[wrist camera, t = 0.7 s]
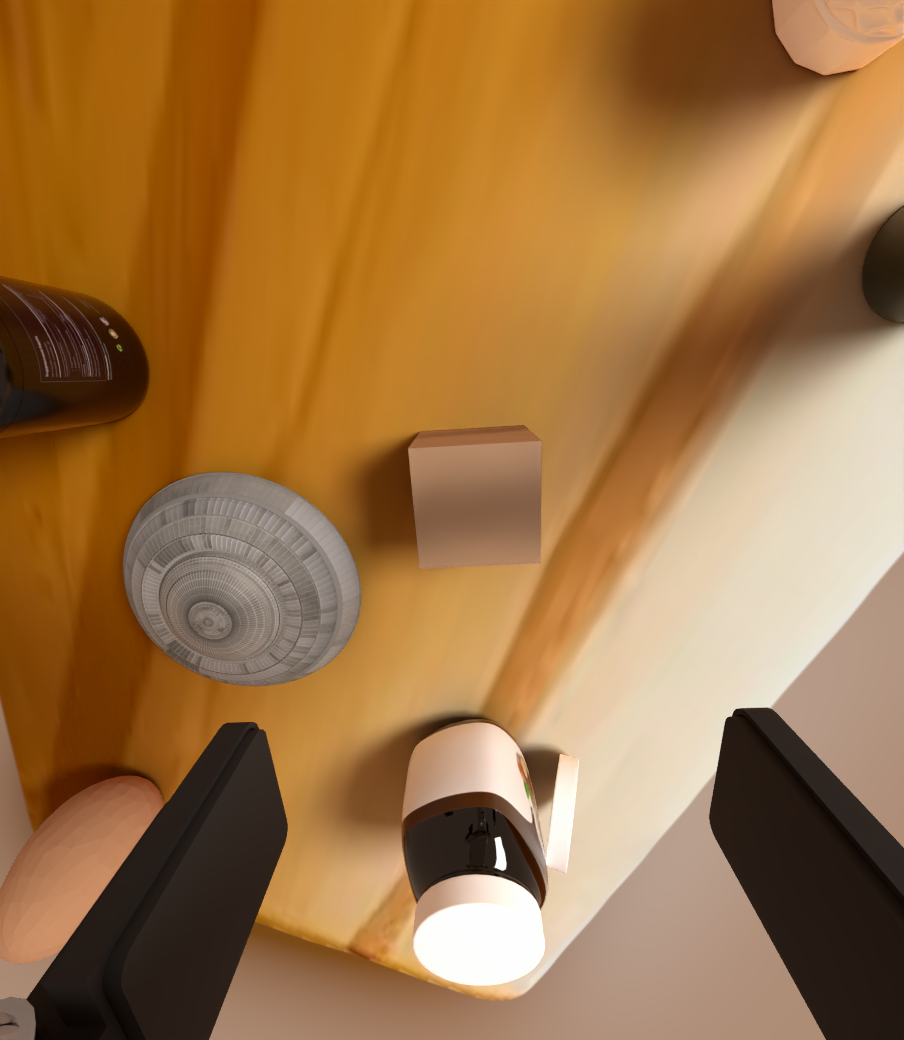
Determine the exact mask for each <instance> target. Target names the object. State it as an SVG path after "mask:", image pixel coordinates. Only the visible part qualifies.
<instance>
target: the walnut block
mask: <svg viewBox="0 0 904 1040" xmlns="http://www.w3.org/2000/svg"><path fill="white" fill-rule="evenodd" d="M541 448H542V441H541V440H540V439H539V438H538V437H537V436H535V435H534V434H533V433H532V432H531V431H530V430H529V429H527V428H526V427H525V426H524V425H519V426H503V427H486V428H469V429H452V430H435V431H420V433H419V434H418V435H417V437H416V438H415V440H414V441H413V442H412V444H411V445H410V446H409V448H408V454H409V464H410V475H411V485H412V496H413V506H414V517H415V527H416V538H417V548H418V559H419V569H426V568H448V567H469V566H491V565H513V564H535V563H541Z"/></svg>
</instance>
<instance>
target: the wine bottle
mask: <svg viewBox="0 0 904 1040" xmlns="http://www.w3.org/2000/svg"><path fill="white" fill-rule="evenodd" d="M863 286H864V292H865V295H866V298H867V300H868V302H869V304H870V306H871V307H872V308H873V309H874V310H875V311H876V312H877V313H878V314H879V315H880V316H882V317H884V318H886V319H888V320H891V321H895V322H903V323H904V207H902V208H901V209H900V210H899V211H897V212H896V213H895V214H894V215H893V216H892V217H891V218H890V219H889V220H888V221H887V222H886V224H885V225H884V226H883V227H882V229H881V230H880V231H879V233H878V234H877V236H876V237H875V239H874V241H873V243H872V245H871V247H870V249H869V252H868V254H867V257H866V261H865V265H864V271H863Z"/></svg>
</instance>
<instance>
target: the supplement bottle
mask: <svg viewBox="0 0 904 1040" xmlns="http://www.w3.org/2000/svg"><path fill="white" fill-rule="evenodd" d="M148 383H149V365H148V360H147V356H146V353H145V350H144V347H143V345H142V343H141V341H140V339H139V337H138V336H137V334H136V332H135V331H134V330H133V328H132V327H131V326H130V324H129V323H128V322H127V321H126V320H125V319H124V318H123V317H122V316H121V315H120V314H119V313H118V312H117V311H115V310H114V309H113V308H111V307H110V306H108V305H107V304H105V303H103V302H102V301H100V300H98V299H96V298H93V297H91V296H88V295H85V294H82V293H78V292H73V291H69V290H64V289H60V288H55V287H50V286H45V285H41V284H36V283H31V282H26V281H22V280H17V279H12V278H7V277H3V276H0V439H1V438H8V437H14V436H21V435H28V434H35V433H41V432H48V431H55V430H62V429H68V428H75V427H82V426H89V425H95V424H101V423H107V422H112V421H115V420H119V419H121V418H123V417H125V416H127V415H129V414H130V413H132V412H133V411H134V410H135V409H136V408H137V407H138V406H139V405H140V403H141V402H142V400H143V398H144V396H145V394H146V391H147V388H148Z"/></svg>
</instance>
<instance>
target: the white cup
mask: <svg viewBox="0 0 904 1040" xmlns="http://www.w3.org/2000/svg"><path fill="white" fill-rule="evenodd" d="M772 5H773V14H774V24H775V32H776V35H777V36H778V38H779V39H780V41H781V43H782V44H783V46H784V47H785V49H786V50H787V52H788V54H789V55H790V57H791V58H792V60H793V61H794V63H796V64H798V65H801V66H803V67H805V68H808V69H810V70H813V71H815V72H817V73H820V74H822V75H830V74H835V73H840V72H846V71H851V70H856V69H861V68H863V67H864V66H866V65H867V64H868V63H870V62H871V61H873V60H874V59H876V58H877V57H878V56H880V55H881V54H883V53H884V52H885V51H887V50H888V49H890V48H891V47H892V46H894V45H895V44H897V43H898V42H899V41H901V40H902V39H904V0H772Z"/></svg>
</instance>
